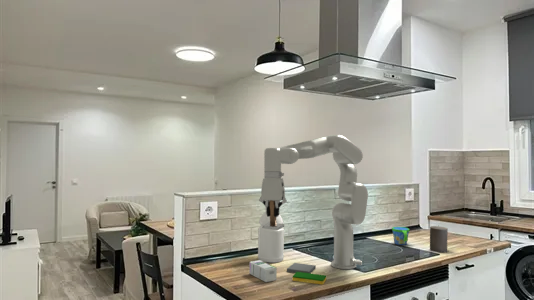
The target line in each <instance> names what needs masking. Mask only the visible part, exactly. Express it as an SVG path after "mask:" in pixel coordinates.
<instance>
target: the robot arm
mask: <svg viewBox="0 0 534 300" xmlns="http://www.w3.org/2000/svg"><path fill="white" fill-rule="evenodd" d="M331 153H332V159H333V160H334V162H335V163H336V164H337V166H338V168H339V171H340V172H339V173H340V175H339V181H338V183H339V184H338V190H337V196H338V198H339V199H340V200H341V201H347V202H350V203H346V202H339V203H336V204H335V205H334V206H333V208H332V212H331V213H332V214H331V215H332V220H333V260H332V261H331V262H330V265H331V267H333V268H336V269H340V270H353V269H355V268H357V265H358V266H362V265H363V261H362V260H360V259H356V258H355V256H354V228H353V225H355V226H359V225H361V224H362V223H364V221H365V218H366V213H367V206H368V200H369V199H368V198H369V193H368V189H367V186H365V185H364V184H363V183H360V182H357V181H358V171H357V168H356V166H355V165H357V164H360V163H361V162H362V160H363V158H364V157H363V156H364V155H363V152H362V150H361V148H360V147H358V145H356V144H355V143H353V141H351V140H350V139H348V138H347V137H345V136H343V135H340V134H335V135H326V136H322V137H318V138H314V139H310V140H306V141H305V140H304V141H302V142H298V143H294V144H290V145H284V146H281V147H280V146H279V147H267V148H265V149H264V153H263V155H264V157H263V159H264V161H263V162H264V169H263V170H264V174H263V175H264V176H263V177H264V178H262V181H261V182H262V183H261V188H260V189H261V190H260V195H261V196H260V198H259V199H258V201H259V202H260V203H262V204H263V206H264V207H266V210H265V212H266V214H267V217H269V216H270V211H269V201H270V200H272V201H275V205H276V207H275V217H278V216H279V214H280V208H281V206H282V205H284V204H286V203H287V202H288V201H287V198H286V192H285V191H286V190H285V183H284V178H282V177H284V176H285V173H284V172H282V165H284V164H285V165H293V164H295V163H296V162H298V160H305V159H314V158H316V157H320V156H322V155H324V156H325V155H327V154H331Z"/></svg>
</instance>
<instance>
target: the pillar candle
mask: <svg viewBox="0 0 534 300" xmlns="http://www.w3.org/2000/svg"><path fill="white" fill-rule="evenodd" d="M448 231H449V230H448V227H446V226H439V225H431V226H430V227H429V250H430V251H432V252H435V253H447V252H448V234H449V233H448Z"/></svg>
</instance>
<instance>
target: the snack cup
mask: <svg viewBox="0 0 534 300" xmlns="http://www.w3.org/2000/svg"><path fill="white" fill-rule="evenodd" d="M391 231H392V235H393V242H394V244H396V245H398V246H406V245H408V240H409V233H410V228H408V227H405V226H393V227H391Z"/></svg>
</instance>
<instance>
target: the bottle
mask: <svg viewBox="0 0 534 300" xmlns="http://www.w3.org/2000/svg"><path fill="white" fill-rule="evenodd" d="M264 207H265V206H264ZM264 210H265V211H264V212H263V214H261V216H260V218H259V221H258V224H259V225H260V226H259V227H258V229H257V231H258V233H257V234H258V236H257V243H258V244H257V245H258V246H257V260H261V261H263V262H265V263H269V264H270V263H280V262H282V261H284V259H285V258H284V257H285V255H284V252H285V249H284V248H285V247H284V246H285V242H284V241H285V239H284V237H285V227H283V228H281V229H279V230H273V229H265V228H262V225H264V224H267V223H269V222H270V216H269V217H267V214H266V207H265V208H264ZM276 221H277V223H279V224H284V219H283V217H282V216H281V214H280V213H279V216H278V217H276Z"/></svg>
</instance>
